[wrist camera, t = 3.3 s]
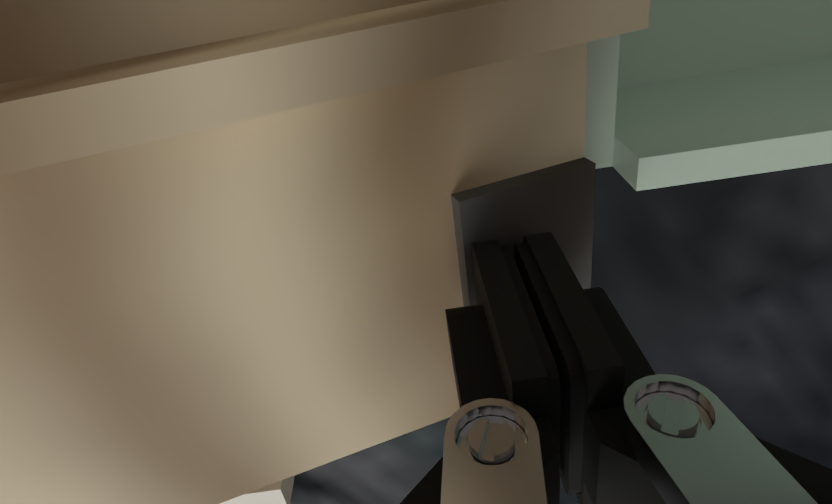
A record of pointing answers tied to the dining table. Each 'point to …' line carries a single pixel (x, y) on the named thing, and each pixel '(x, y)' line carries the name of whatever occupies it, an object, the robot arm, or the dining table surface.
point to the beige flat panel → (264, 224)
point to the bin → (712, 92)
